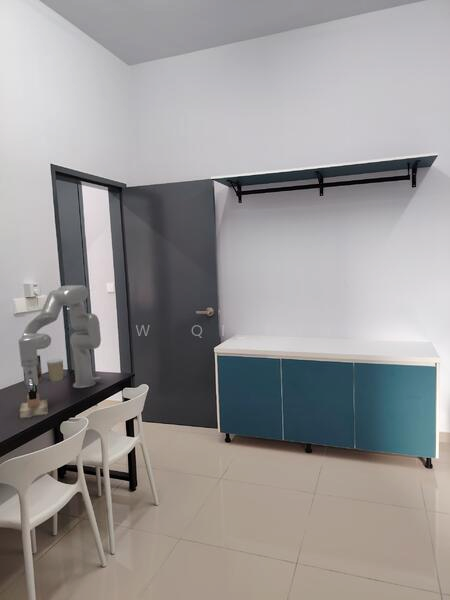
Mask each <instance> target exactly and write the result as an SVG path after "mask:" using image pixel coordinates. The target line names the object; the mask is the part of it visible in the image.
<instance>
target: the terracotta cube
mask: <svg viewBox="0 0 450 600" xmlns="http://www.w3.org/2000/svg"><path fill="white" fill-rule="evenodd" d="M36 397H37V398H36V399H32V400H29V394H27V396H26V403H28V408H30V407H36V406H39V404H40V394H39V392H37V393H36Z"/></svg>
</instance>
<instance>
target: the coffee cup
mask: <svg viewBox="0 0 450 600" xmlns="http://www.w3.org/2000/svg"><path fill="white" fill-rule="evenodd" d="M46 365H47V372H48V376H49V381H50V382H59V381H62V380H63V379H64V360H63V359H62V358H53V359H49V360H47V361H46Z"/></svg>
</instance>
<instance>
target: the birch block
mask: <svg viewBox="0 0 450 600" xmlns="http://www.w3.org/2000/svg"><path fill="white" fill-rule="evenodd" d="M39 401H40V404H39V406H36V407H30V408H28V403H27V402H22V403H20V408H19V416H20V417H19V419H20V418H21V419H25V418H26V417H27V418H31V417H32V416H33V417H36V416H37V415H38V416H43V414H44V415H48V414H49V413H48V411H49V409H48V405H49V404H48V399H46V398H45V399H42V400H41V399H39ZM38 416H37V417H38ZM33 417H32V418H33ZM27 418H26V419H27Z"/></svg>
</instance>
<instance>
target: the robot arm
mask: <svg viewBox="0 0 450 600" xmlns="http://www.w3.org/2000/svg"><path fill="white" fill-rule="evenodd" d="M88 296H89V289H88V288H87V287H86V286H85V285H83V284H82V285H81V284H80V285H79V284H75V285H73V284H72V285H70V284H69V285H62V286H59V287H58V288H57V289H54V290H51V291H50V292H49V293H48V295H47V297H46V299H45V302H44V304H43V307H42V309H41V310H40V311H41V312H40V313H39V314H38V315H36V317H34V318H33V319H32V320H31V321H30V322H29V323H28V324H27V326H25V328H24V331H23V333H22V336H21V338H19V339H18V348H19V359H20V365H21V368H23V367H24V370H25V377H26V383H27V385H26V387H27V388H28V395H29V400H32V399H36V398H37V397H36V393H38V389H37V387H38V385H39V383H38V374H37V367H36V365H38V357H37V355H38V350H42V349H46V348H48V347H50V345H51V343H52V338H51V336H50V335H49V334H47V333H38V332H39V331H40V329H42V328H44V327H45V326H48V325H50V324H52V323H54V322H56V321H57V320H58V318H59V315H60V314H61V313H60V312H61V310H62V308H63V306H67V307H68V311H69V318H70V325H71V329H73V330H75V331H77V332H74V333H72V334H71V335H70V338H69V343H70V346H71V350H72V357H73V367H74V368H73V369H74V378H75V382H74V383H73V384H72V388H75V389H86V387H87V388H90V386H91V387H93V386H95V385H96V384H97V382H98V381H101V380H102V379H101V376H94V375H93V368H92V358H91V357H92V356H91V352H90V350H91V349H92V350H93V349H95V350H97V349H98V348H99V347H100V345H101V342H102V338H101V326H100V320H99V317H98V316H97V315H96V314H95V313H86V307H85V303H84V301H85V300H86V299H87V298H88Z"/></svg>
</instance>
